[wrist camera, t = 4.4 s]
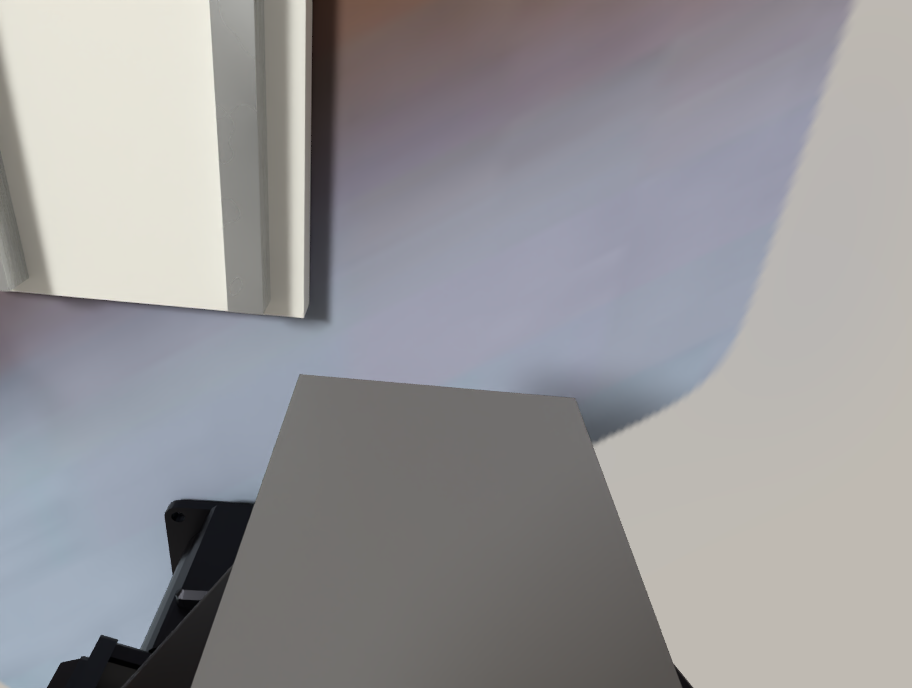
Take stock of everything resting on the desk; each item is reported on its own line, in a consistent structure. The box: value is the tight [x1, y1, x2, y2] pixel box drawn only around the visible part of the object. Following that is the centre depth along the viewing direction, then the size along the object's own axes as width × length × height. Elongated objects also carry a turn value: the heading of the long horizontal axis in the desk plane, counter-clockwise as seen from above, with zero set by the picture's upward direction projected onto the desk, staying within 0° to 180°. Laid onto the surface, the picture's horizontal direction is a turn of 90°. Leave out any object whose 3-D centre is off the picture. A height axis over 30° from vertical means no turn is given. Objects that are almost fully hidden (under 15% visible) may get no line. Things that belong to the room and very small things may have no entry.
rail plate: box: [0, 0, 312, 318], centre depth 14 cm, size 16×10×4 cm, turn 173°
